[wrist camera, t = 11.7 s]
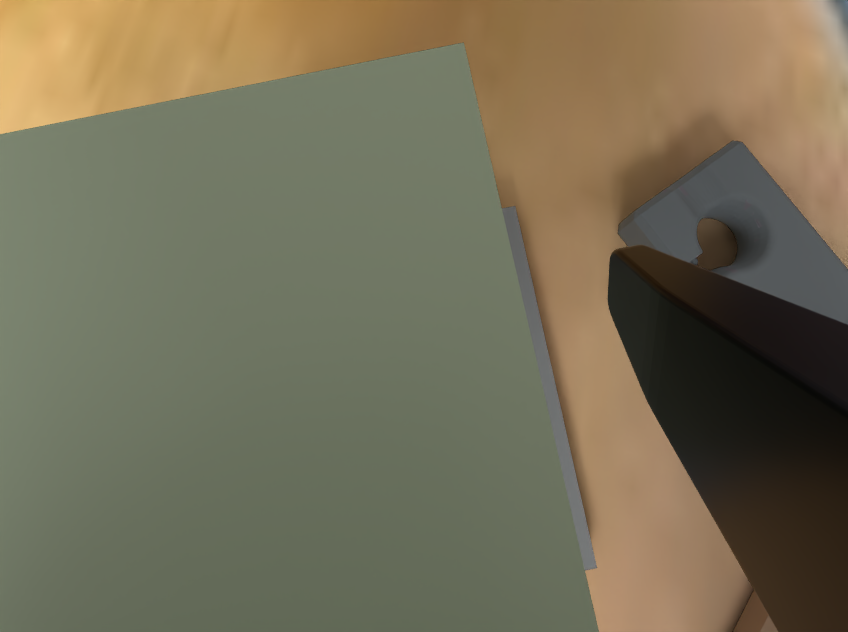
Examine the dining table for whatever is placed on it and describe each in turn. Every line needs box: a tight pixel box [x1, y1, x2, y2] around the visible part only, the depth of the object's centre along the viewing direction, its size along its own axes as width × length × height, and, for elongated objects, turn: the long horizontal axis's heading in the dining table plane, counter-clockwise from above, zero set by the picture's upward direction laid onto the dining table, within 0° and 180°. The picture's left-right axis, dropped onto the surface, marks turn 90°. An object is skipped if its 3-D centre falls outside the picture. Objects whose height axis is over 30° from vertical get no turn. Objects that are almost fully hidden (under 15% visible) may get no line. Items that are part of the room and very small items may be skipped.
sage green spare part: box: [0, 43, 599, 632], centre depth 10 cm, size 4×4×13 cm
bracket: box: [618, 141, 848, 324], centre depth 17 cm, size 4×10×2 cm, turn 36°
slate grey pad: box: [502, 206, 597, 570], centre depth 17 cm, size 10×10×1 cm
